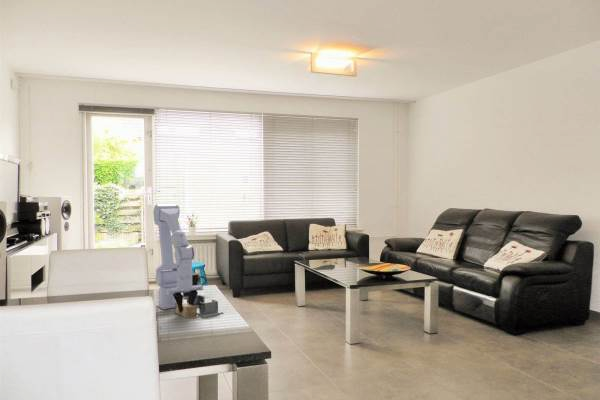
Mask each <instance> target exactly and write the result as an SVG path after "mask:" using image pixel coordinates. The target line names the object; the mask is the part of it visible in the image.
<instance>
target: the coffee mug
mask: <svg viewBox="0 0 600 400" xmlns="http://www.w3.org/2000/svg"><path fill="white" fill-rule="evenodd" d="M200 278H203V279H204V282H203V283H202V284H201V285H203V286H204V285H205V284H206V282H207V278H206V277H205V276H203V275H202V276H199V273H198V272H192V286H196V285H199V284H198V283H199V280H200ZM182 295H184V296H183V297H188V294H187V292H185V293H182Z"/></svg>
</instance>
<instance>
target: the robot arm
mask: <svg viewBox="0 0 600 400" xmlns="http://www.w3.org/2000/svg"><path fill="white" fill-rule="evenodd" d="M180 212H181V210H180V205H178V204H177V203H170V204H169V203H168V204H166V203H164V204H157V203H156V204H155V205H154V207H153V213H152V214H153V221H154V222H153V223H154V224H155V225H156V226H157V227H158V235H159V244H160V255H161V257H160V258H161V264H160V265H159V266H158V267H157V268H156V269H155V282H156V283H155V284H156V285H157V286H158V287H159V289H158V291H157V297H158V298H157V299H158V303H157V304H156V305H157V307H158V308H160V309H163V310H166V309H167V310H168V309H173V308H174V309H175V302H177V305H178V309H179V311H180V312H182V311H183V307H182V301H184V296H183V293H185V292H187V294H188V296H187V297H188V301H189V304H191V305H193V304H194V301H195V299H196V296H198V291H204V285H202V284H198V285H196V286H192V273H193V262H192V261H193V260H194V258H195V250H194V247H193V245H192V244H190V243H189V240H188V239H187V236H186V233H185V232H184V231H182V230H181V229H182V228H181V226H180V222H179V217H180ZM173 248H174V253H173ZM174 260H175V262H174Z"/></svg>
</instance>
